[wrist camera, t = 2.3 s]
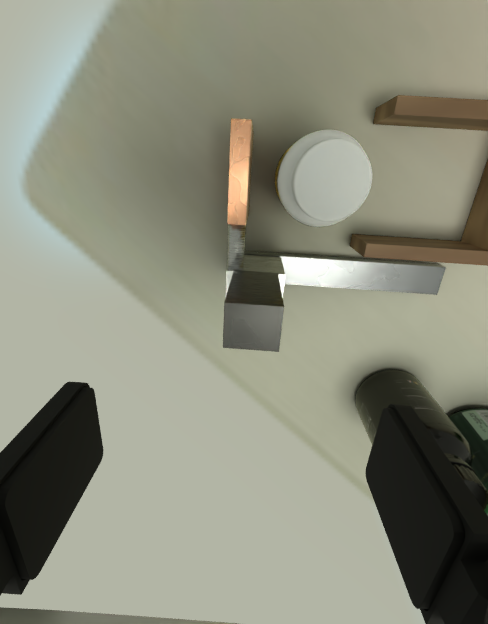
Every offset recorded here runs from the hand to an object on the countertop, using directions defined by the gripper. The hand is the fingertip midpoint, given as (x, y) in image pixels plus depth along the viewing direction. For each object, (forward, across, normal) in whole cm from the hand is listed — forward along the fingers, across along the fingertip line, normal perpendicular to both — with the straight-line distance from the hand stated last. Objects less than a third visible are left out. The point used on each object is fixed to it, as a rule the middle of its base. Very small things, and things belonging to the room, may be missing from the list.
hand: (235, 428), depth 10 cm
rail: (+19, -8, -1) cm, 21 cm away
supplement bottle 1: (+19, -4, -8) cm, 21 cm away
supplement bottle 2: (+20, -15, +12) cm, 28 cm away
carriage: (+19, -1, -5) cm, 20 cm away
